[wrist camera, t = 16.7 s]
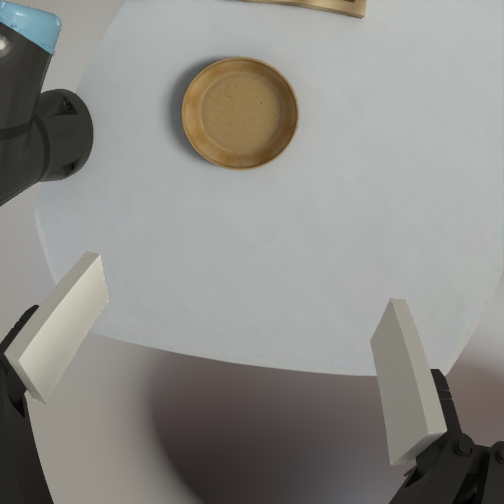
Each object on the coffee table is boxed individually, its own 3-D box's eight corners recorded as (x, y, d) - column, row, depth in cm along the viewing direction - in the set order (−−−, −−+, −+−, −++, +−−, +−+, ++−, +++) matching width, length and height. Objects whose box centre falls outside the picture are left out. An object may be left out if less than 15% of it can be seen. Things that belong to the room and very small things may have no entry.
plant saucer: (167, 123, 40) (160, 126, 38) (231, 37, 33) (227, 34, 31) (251, 185, 44) (248, 192, 42) (322, 106, 37) (324, 107, 35)
